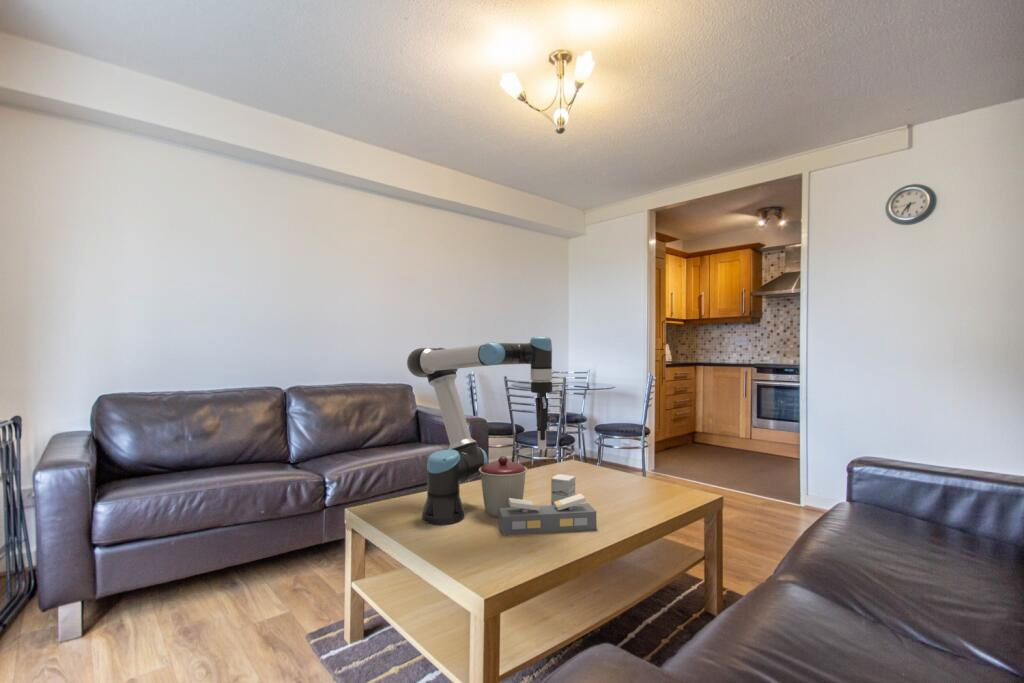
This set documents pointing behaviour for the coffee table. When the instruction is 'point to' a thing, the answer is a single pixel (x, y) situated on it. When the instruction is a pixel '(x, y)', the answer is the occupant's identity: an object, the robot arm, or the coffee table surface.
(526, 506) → the rocker
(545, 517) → the console
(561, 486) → the supplement box
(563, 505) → the bar
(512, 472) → the canister
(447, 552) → the coffee table surface
